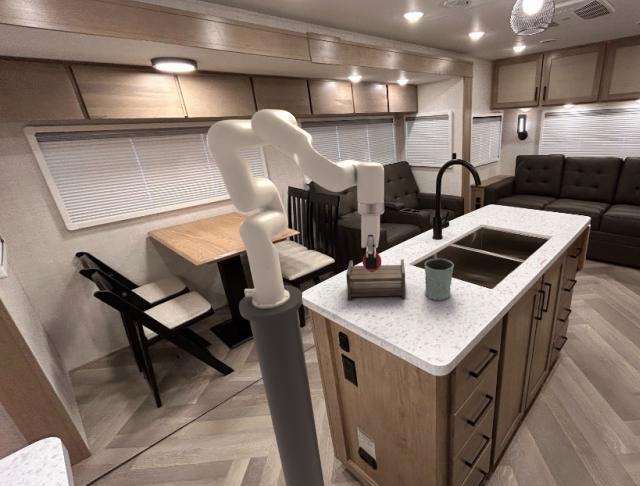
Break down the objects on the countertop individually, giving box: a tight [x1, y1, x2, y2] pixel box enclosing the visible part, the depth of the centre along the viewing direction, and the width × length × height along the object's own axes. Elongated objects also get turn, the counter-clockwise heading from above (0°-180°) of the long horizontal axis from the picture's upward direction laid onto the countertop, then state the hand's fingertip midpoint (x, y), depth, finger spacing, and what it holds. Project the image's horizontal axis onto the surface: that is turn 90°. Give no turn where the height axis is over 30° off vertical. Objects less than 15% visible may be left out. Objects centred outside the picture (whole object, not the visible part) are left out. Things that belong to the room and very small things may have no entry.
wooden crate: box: [345, 259, 406, 301], centre depth 116 cm, size 20×12×10 cm, turn 92°
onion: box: [362, 250, 382, 272], centre depth 98 cm, size 6×6×8 cm
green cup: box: [424, 258, 455, 301], centre depth 113 cm, size 10×10×12 cm
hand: (372, 263), depth 99 cm, fingers closed on onion, 5 cm apart
